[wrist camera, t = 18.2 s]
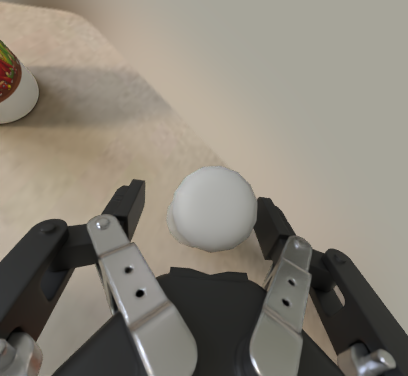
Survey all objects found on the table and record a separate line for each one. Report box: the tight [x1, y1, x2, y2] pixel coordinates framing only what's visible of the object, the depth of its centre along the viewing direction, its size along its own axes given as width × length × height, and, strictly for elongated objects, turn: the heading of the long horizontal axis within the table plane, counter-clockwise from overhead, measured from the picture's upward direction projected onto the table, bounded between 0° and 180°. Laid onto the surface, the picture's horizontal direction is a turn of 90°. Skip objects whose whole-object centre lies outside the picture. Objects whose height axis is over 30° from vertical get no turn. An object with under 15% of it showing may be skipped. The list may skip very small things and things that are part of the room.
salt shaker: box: [166, 166, 258, 253], centre depth 15 cm, size 6×6×13 cm
